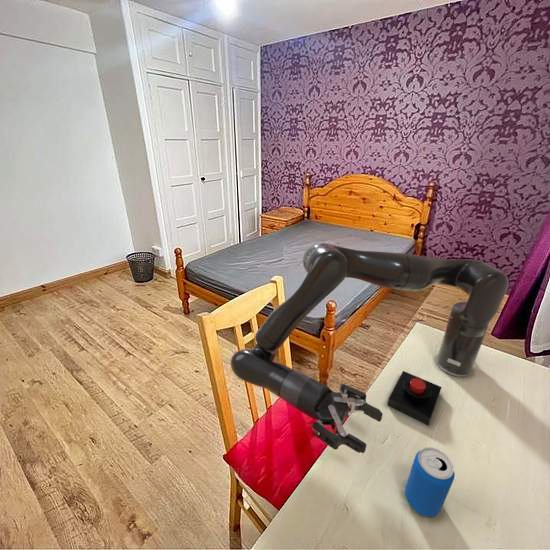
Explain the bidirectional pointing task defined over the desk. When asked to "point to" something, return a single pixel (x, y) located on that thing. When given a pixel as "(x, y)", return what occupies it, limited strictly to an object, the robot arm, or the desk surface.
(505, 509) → the desk surface
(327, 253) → the robot arm
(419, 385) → the plunger
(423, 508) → the beverage can
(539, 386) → the desk surface
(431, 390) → the button housing
